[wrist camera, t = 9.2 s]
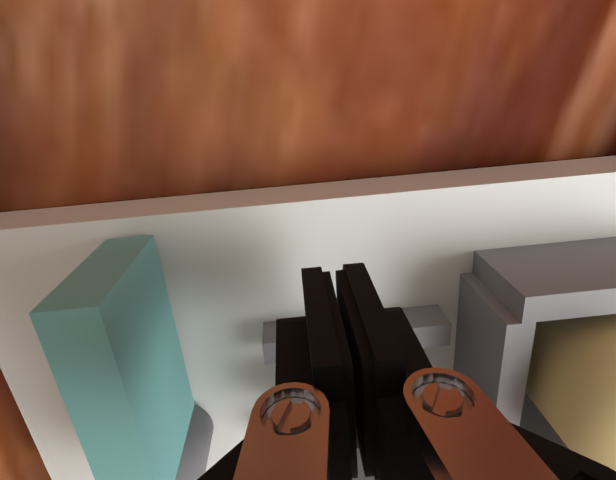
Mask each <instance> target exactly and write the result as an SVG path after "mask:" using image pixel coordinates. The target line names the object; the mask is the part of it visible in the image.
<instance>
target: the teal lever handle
mask: <svg viewBox="0 0 616 480" xmlns="http://www.w3.org/2000/svg"><path fill="white" fill-rule="evenodd" d="M29 316H30V318H31V321H32V323H33V326H34V328H35V331H36V333H37V336H38V338H39V341H40V343H41V346H42V348H43V351H44V353H45V356H46V358H47V361H48V363H49V366H50V368H51V371H52V373H53V376H54V378H55V381H56V383H57V386H58V388H59V391H60V393H61V396H62V398H63V401H64V403H65V406H66V408H67V411H68V413H69V416H70V418H71V421H72V423H73V426H74V428H75V431H76V433H77V436H78V438H79V441H80V443H81V446H82V448H83V451H84V453H85V456H86V458H87V461H88V463H89V466H90V468H91V471H92V473H93V476H94V478H95V480H197V479H198V478H199V477H200V476H202V475H203V474H204V473H205V472H206V467H207V461H208V456H209V450H210V445H211V440H212V434H213V427H214V426H213V421H212V419H211V417H210V415H209V414H208V413H207V412H206V411H205V410H204V409H203V408H201V407H200V406H198V405H196V404H194V400H193V396H192V392H191V387H190V383H189V379H188V375H187V371H186V367H185V362H184V358H183V354H182V350H181V346H180V342H179V337H178V333H177V329H176V325H175V321H174V317H173V312H172V308H171V304H170V300H169V296H168V292H167V288H166V283H165V279H164V275H163V271H162V267H161V263H160V258H159V254H158V250H157V246H156V242H155V238H154V235H146V236H136V237H125V238H115V239H106V240H105V241H104V242H103V243H102V244H101V245H99V246H98V247H97V248H96V249H95V250H94V251H93V252H92V253H91V254H90V255H89V256H88V257H87V258H86V259H85V260H84V261H83V262H82V263H81V264H80V265H79V266H78V267H77V268H75V269H74V270H73V271H72V272H71V273H70V274H69V275H68V276H67V277H66V278H65V279H64V280H63V281H62V282H61V283H60V284H59V285H58V286H57V287H56V288H55V289H54V290H53V291H51V292H50V293H49V294H48V295H47V296H46V297H45V298H44V299H43V300H42V301H41V302H40V303H39V304H38V305H37V306H36V307H35V308H34V309H33V310H32V311H31V312H30V313H29Z"/></svg>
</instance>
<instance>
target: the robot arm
mask: <svg viewBox="0 0 616 480" xmlns="http://www.w3.org/2000/svg"><path fill="white" fill-rule="evenodd" d="M301 273H302V285H303V296H304V307H305V316H301V317H291V318H281V319H276V368H275V386H274V387H272V388H270V389H269V390H267V391H266V392H264V393H263V394H262V395H261V396H260V397H259V398H258V399H257V400H256V402H255V404H254V406H253V408H252V411H251V415H250V419H249V422H248V426H247V430H246V433H245V437H244V439H243V440H242V441H241V442H240V443H238V444H237V445H236V446H235V447H234V448H233V449H232V450H230V451H229V452H228V453H227V454H226V455H225V456H223V457H222V458H221V459H220V460H219V461H218V462H217V463H215V464H214V465H213V466H212V467H211V468H210V469H209V470H207V471H206V472H205V473H204V474H203V475H202V476H200V477H199V478H198V479H197V480H352V478H358V466H357V442H358V446H359V451H360V456H361V461H362V465H363V470H364V474H365V477H370V476H374V478H375V480H616V471H614V470H613V469H611V468H609V467H607V466H605V465H603V464H600V463H598V462H596V461H594V460H592V459H589V458H587V457H585V456H583V455H581V454H579V453H576V452H574V451H572V450H570V449H568V448H565V447H563V446H561V445H559V444H557V443H554V442H552V441H550V440H548V439H546V438H543V437H541V436H539V435H537V434H535V433H532V432H530V431H528V430H526V429H524V428H521V427H519V426H517V425H515V424H513V423H510V422H509V421H508V420H507V419H506V417H505V416H504V415H503V414H502V413H501V412H500V411H499V409H498V408H497V407H496V406H495V405H494V404H493V402H492V401H491V400H490V399H489V398H488V397H487V395H486V394H485V393H484V392H483V391H482V390H481V389H480V387H479V386H478V385H477V384H476V383H475V382H473V381H472V380H471V379H470V378H469V377H467V376H465V375H463V374H461V373H459V372H457V371H453V370H450V369H446V368H437V367H434V368H433V367H432V365H431V363H430V361H429V359H428V357H427V355H426V353H425V351H424V350H423V348H422V346H421V344H420V342H419V340H418V338H417V336H416V334H415V332H414V330H413V328H412V327H411V325H410V323H409V321H408V319H407V317H406V315H405V313H404V311H403V310H402V308H401V307H391V308H384V307H383V305H382V302H381V300H380V298H379V296H378V294H377V291H376V289H375V287H374V285H373V282H372V280H371V278H370V276H369V273H368V271H367V269H366V267H365V264H364V263H352V264H343V269H342V270H336V273H335V274H336V293H337V298H336V294H335V290H334V286H333V282H332V278H331V274H330V271H325V272H322V268H321V267H311V268H301ZM356 437H357V441H356Z"/></svg>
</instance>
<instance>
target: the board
mask: <svg viewBox="0 0 616 480" xmlns="http://www.w3.org/2000/svg"><path fill="white" fill-rule="evenodd" d="M146 235H154V238H155V242H156V246H157V250H158V254H159V258H160V263H161V267H162V271H163V275H164V279H165V283H166V288H167V292H168V296H169V300H170V304H171V308H172V312H173V317H174V321H175V325H176V329H177V333H178V337H179V342H180V346H181V350H182V354H183V358H184V362H185V367H186V371H187V375H188V379H189V383H190V387H191V392H192V396H193V400H194V404H196V405H198V406H200V407H201V408H203V409H204V410H205V411H206V412H207V413H208V414H209V415H210V417H211V419H212V421H213V426H214V427H213V434H212V440H211V445H210V450H209V456H208V461H207V467H206V471H207V470H209V469H210V468H211V467H212V466H213V465H214V464H215V463H217V462H218V461H219V460H220V459H221V458H222V457H223V456H225V455H226V454H227V453H228V452H229V451H230V450H232V449H233V448H234V447H235V446H236V445H237V444H238V443H240V442H241V441H242V440H243V439H244V437H245V433H246V430H247V426H248V422H249V419H250V415H251V411H252V408H253V406H254V404H255V402H256V400H257V399H258V398H259V397H260V396H261V395H262V394H263V393H264V392H266V391H267V390H269V389H270V388H272V387H274V386H275V368H276V319H281V318H291V317H301V316H305V307H304V296H303V285H302V273H301V268H311V267H321V268H322V272H325V271H330V274H331V278H332V282H333V286H334V290H335V294H336V298H337V293H336V274H335V273H336V270H342V269H343V264H352V263H364V264H365V267H366V269H367V271H368V273H369V276H370V278H371V280H372V282H373V285H374V287H375V289H376V291H377V294H378V296H379V298H380V300H381V302H382V305H383V307H384V308H391V307H401V308H402V310H403V311H404V313H405V315H406V317H407V319H408V321H409V323H410V325H411V327H412V328H413V330H414V332H415V334H416V336H417V338H418V340H419V342H420V344H421V346H422V348H423V350H424V351H425V353H426V355H427V357H428V359H429V361H430V363H431V365H432V367H433V368H434V367H437V368H446V369H450V370H453V371H457V372H459V373H461V374H463V375H465V376H467V377H469V378H470V379H471V380H472V381H473V382H475V383H476V384H477V385H478V386H479V387H480V389H481V390H482V391H483V392H484V393H485V394H486V395H487V397H488V398H489V399H490V400H491V401H492V402H493V404H494V405H495V406H496V407H497V408H498V409H499V411H500V412H501V413H502V414H503V415H504V416H505V417H506V419H507V420H508V421H509V422H510V423H513V424H515V425H517V426H519V427H521V428H524V429H526V430H528V431H530V432H532V433H535V434H537V435H539V436H541V437H543V438H546V439H548V440H550V441H552V442H554V443H557V444H559V445H561V446H563V447H565V448H568V449H570V450H572V451H574V452H576V453H579V454H581V455H583V456H585V457H587V458H589V459H592V460H594V461H596V462H598V463H600V464H603V465H605V466H607V467H609V468H611V469H613V470H614V471H616V155H615V156H604V157H594V158H583V159H572V160H561V161H550V162H539V163H529V164H518V165H507V166H496V167H485V168H475V169H464V170H453V171H442V172H431V173H420V174H410V175H399V176H388V177H377V178H366V179H355V180H345V181H334V182H323V183H312V184H301V185H291V186H280V187H269V188H258V189H247V190H236V191H226V192H215V193H204V194H193V195H182V196H172V197H161V198H150V199H139V200H128V201H117V202H107V203H96V204H85V205H74V206H63V207H52V208H42V209H31V210H20V211H9V212H0V368H1V370H2V372H3V375H4V377H5V379H6V381H7V383H8V386H9V388H10V390H11V392H12V394H13V396H14V399H15V401H16V403H17V405H18V407H19V410H20V412H21V414H22V416H23V418H24V420H25V423H26V425H27V427H28V429H29V431H30V434H31V436H32V438H33V440H34V442H35V444H36V447H37V449H38V451H39V453H40V455H41V458H42V460H43V462H44V464H45V466H46V468H47V471H48V473H49V475H50V477H51V479H52V480H95V478H94V476H93V473H92V471H91V468H90V466H89V463H88V461H87V458H86V456H85V453H84V451H83V448H82V446H81V443H80V441H79V438H78V436H77V433H76V431H75V428H74V426H73V423H72V421H71V418H70V416H69V413H68V411H67V408H66V406H65V403H64V401H63V398H62V396H61V393H60V391H59V388H58V386H57V383H56V381H55V378H54V376H53V373H52V371H51V368H50V366H49V363H48V361H47V358H46V356H45V353H44V351H43V348H42V346H41V343H40V341H39V338H38V336H37V333H36V331H35V328H34V326H33V323H32V321H31V318H30V316H29V313H30V312H31V311H32V310H33V309H34V308H35V307H36V306H37V305H38V304H39V303H40V302H41V301H42V300H43V299H44V298H45V297H46V296H47V295H48V294H49V293H50V292H51V291H53V290H54V289H55V288H56V287H57V286H58V285H59V284H60V283H61V282H62V281H63V280H64V279H65V278H66V277H67V276H68V275H69V274H70V273H71V272H72V271H73V270H74V269H75V268H77V267H78V266H79V265H80V264H81V263H82V262H83V261H84V260H85V259H86V258H87V257H88V256H89V255H90V254H91V253H92V252H93V251H94V250H95V249H96V248H97V247H98V246H99V245H101V244H102V243H103V242H104V241H105V240H106V239H115V238H125V237H136V236H146Z"/></svg>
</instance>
